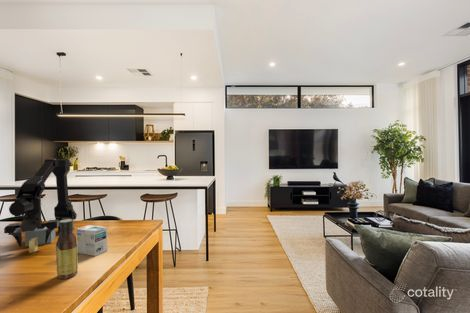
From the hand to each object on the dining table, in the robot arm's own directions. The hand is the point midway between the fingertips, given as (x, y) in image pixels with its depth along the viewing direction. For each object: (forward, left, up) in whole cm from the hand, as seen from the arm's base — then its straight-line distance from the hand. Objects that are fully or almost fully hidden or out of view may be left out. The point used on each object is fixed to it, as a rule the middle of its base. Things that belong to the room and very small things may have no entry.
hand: (33, 245), depth 115 cm
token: (0, 0, -2) cm, 2 cm away
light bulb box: (-24, +13, -3) cm, 27 cm away
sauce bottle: (-18, +34, -2) cm, 38 cm away
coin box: (0, -12, -2) cm, 12 cm away
